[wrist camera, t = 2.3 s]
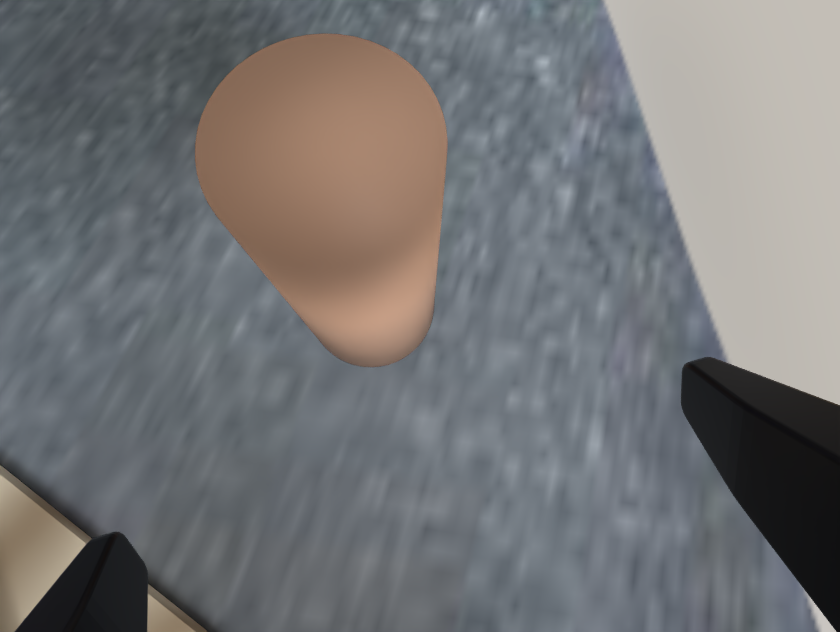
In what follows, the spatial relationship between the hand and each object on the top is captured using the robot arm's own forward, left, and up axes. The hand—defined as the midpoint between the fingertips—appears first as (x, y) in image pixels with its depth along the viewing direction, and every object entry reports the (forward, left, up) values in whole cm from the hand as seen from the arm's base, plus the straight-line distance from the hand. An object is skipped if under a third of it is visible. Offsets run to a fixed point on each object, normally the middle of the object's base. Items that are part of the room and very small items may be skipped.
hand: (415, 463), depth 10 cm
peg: (+5, -2, -12) cm, 14 cm away
